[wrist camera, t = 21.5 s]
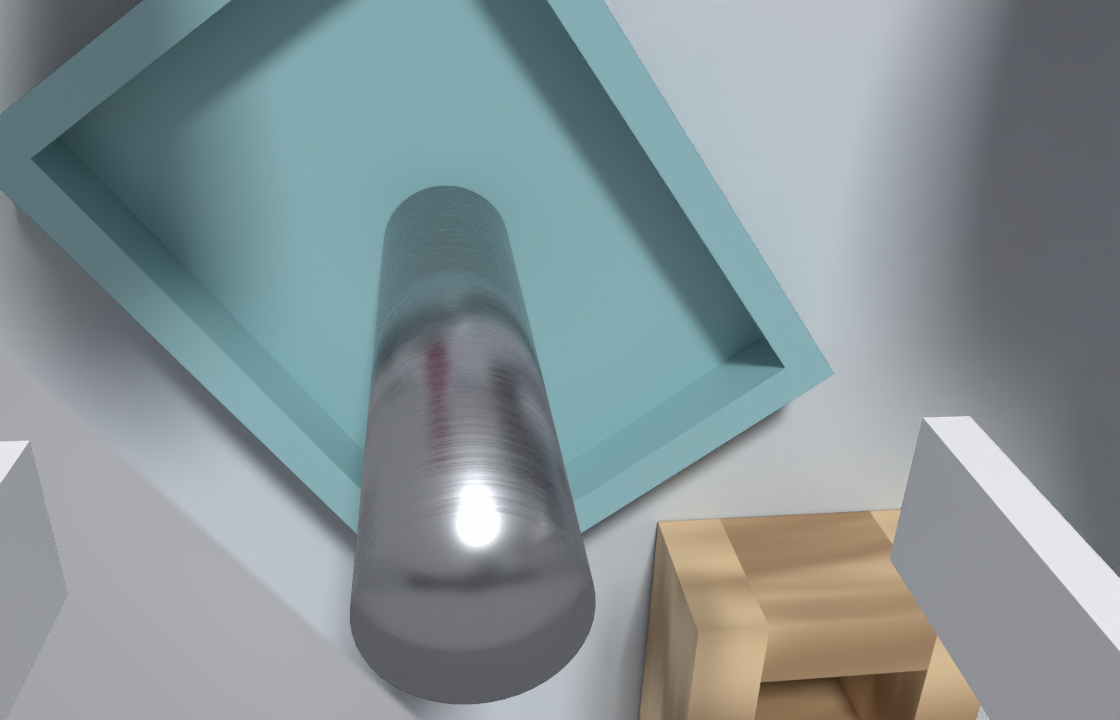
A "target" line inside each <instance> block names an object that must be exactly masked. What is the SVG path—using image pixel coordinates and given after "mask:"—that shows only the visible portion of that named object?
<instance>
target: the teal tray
mask: <svg viewBox="0 0 1120 720" xmlns="http://www.w3.org/2000/svg"><path fill="white" fill-rule="evenodd" d="M445 185H446V186H457V187H462V188H465V189H468V190H471V191H473V192H475V193H477V194H479V195H481V196H482V197H484V198H485V199H486V200H487V201H489V202H490V203H491V204H492V205H493V206H494V207H495V209H496V210H497V211H498V213H499V214H500V215H501V217H502V219H503V221H504V223H505V226H506V229H507V233H508V237H509V241H510V245H511V249H512V253H513V257H514V261H515V266H516V270H517V274H518V278H519V282H520V286H521V290H522V294H523V298H524V302H525V306H526V310H527V315H528V319H529V323H530V327H531V331H532V335H533V339H534V343H535V347H536V351H537V355H538V359H539V364H540V368H541V372H542V376H543V380H544V384H545V388H546V392H547V396H548V400H549V404H550V408H551V413H552V417H553V421H554V425H555V429H556V433H557V437H558V441H559V445H560V449H561V453H562V457H563V462H564V466H565V470H566V474H567V478H568V482H569V486H570V490H571V494H572V498H573V502H574V506H575V511H576V515H577V519H578V523H579V527H580V531H581V533H582V532H584V531H586V530H587V529H589V528H590V527H592V526H594V525H595V524H597V523H598V522H600V521H601V520H603V519H605V518H606V517H608V516H609V515H611V514H613V513H614V512H616V511H617V510H619V509H621V508H622V507H624V506H625V505H627V504H629V503H630V502H632V501H633V500H635V499H636V498H638V497H640V496H641V495H643V494H644V493H646V492H648V491H649V490H651V489H652V488H654V487H656V486H657V485H659V484H660V483H662V482H663V481H665V480H667V479H668V478H670V477H671V476H673V475H675V474H676V473H678V472H679V471H681V470H683V469H684V468H686V467H687V466H689V465H690V464H692V463H694V462H695V461H697V460H698V459H700V458H702V457H703V456H705V455H706V454H708V453H710V452H711V451H713V450H714V449H716V448H717V447H719V446H721V445H722V444H724V443H725V442H727V441H729V440H730V439H732V438H733V437H735V436H737V435H738V434H740V433H741V432H743V431H744V430H746V429H748V428H749V427H751V426H752V425H754V424H756V423H757V422H759V421H760V420H762V419H764V418H765V417H767V416H768V415H770V414H772V413H773V412H775V411H776V410H778V409H779V408H781V407H783V406H784V405H786V404H787V403H789V402H791V401H792V400H794V399H795V398H797V397H799V396H800V395H802V394H803V393H805V392H806V391H808V390H810V389H811V388H813V387H814V386H816V385H818V384H819V383H821V382H822V381H824V380H826V379H827V378H829V377H830V376H832V375H833V374H834V372H833V371H832V369H831V367H830V366H829V364H828V362H827V361H826V359H825V358H824V356H823V354H822V353H821V351H820V350H819V348H818V346H817V345H816V343H815V341H814V340H813V338H812V337H811V335H810V333H809V332H808V330H807V329H806V327H805V325H804V324H803V322H802V320H801V319H800V317H799V316H798V314H797V312H796V311H795V309H794V308H793V306H792V304H791V303H790V301H789V299H788V298H787V296H786V295H785V293H784V291H783V290H782V288H781V287H780V285H779V283H778V282H777V280H776V278H775V277H774V275H773V274H772V272H771V270H770V269H769V267H768V265H767V264H766V262H765V261H764V259H763V257H762V256H761V254H760V253H759V251H758V249H757V248H756V246H755V244H754V243H753V241H752V240H751V238H750V236H749V235H748V233H747V232H746V230H745V228H744V227H743V225H742V223H741V222H740V220H739V219H738V217H737V215H736V214H735V212H734V211H733V209H732V207H731V206H730V204H729V202H728V201H727V199H726V198H725V196H724V194H723V193H722V191H721V190H720V188H719V186H718V185H717V183H716V181H715V180H714V178H713V177H712V175H711V173H710V172H709V170H708V169H707V167H706V165H705V164H704V162H703V160H702V159H701V157H700V156H699V154H698V152H697V151H696V149H695V148H694V146H693V144H692V143H691V141H690V139H689V138H688V136H687V135H686V133H685V131H684V130H683V128H682V127H681V125H680V123H679V122H678V120H677V118H676V117H675V115H674V114H673V112H672V110H671V109H670V107H669V105H668V104H667V102H666V101H665V99H664V97H663V96H662V94H661V93H660V91H659V89H658V88H657V86H656V84H655V83H654V81H653V80H652V78H651V76H650V75H649V73H648V72H647V70H646V68H645V67H644V65H643V63H642V62H641V60H640V59H639V57H638V55H637V54H636V52H635V51H634V49H633V47H632V46H631V44H630V42H629V41H628V39H627V38H626V36H625V34H624V33H623V31H622V30H621V28H620V26H619V25H618V23H617V21H616V20H615V18H614V17H613V15H612V13H611V12H610V10H609V9H608V7H607V5H606V4H605V2H604V0H143V1H141V2H140V3H139V4H138V5H136V6H135V7H134V8H133V9H131V10H130V11H129V12H128V13H126V14H125V15H124V16H123V17H121V18H120V19H119V20H118V21H116V22H115V23H114V24H113V25H111V26H110V27H109V28H108V29H106V30H105V31H104V32H103V33H101V34H100V35H99V36H98V37H96V38H95V39H94V40H93V41H92V42H90V43H89V44H88V45H87V46H85V47H84V48H83V49H82V50H80V51H79V52H78V53H77V54H75V55H74V56H73V57H72V58H70V59H69V60H68V61H67V62H65V63H64V64H63V65H62V66H60V67H59V68H58V69H57V70H55V71H54V72H53V73H52V74H50V75H49V76H48V77H47V78H46V79H44V80H43V81H42V82H41V83H39V84H38V85H37V86H36V87H34V88H33V89H32V90H31V91H29V92H28V93H27V94H26V95H24V96H23V97H22V98H21V99H19V100H18V101H17V102H16V103H14V104H13V105H12V106H11V107H9V108H8V109H7V110H6V111H4V112H3V113H2V114H1V115H0V189H1V190H2V191H3V192H4V193H5V194H6V195H7V196H8V197H9V198H10V199H11V200H12V201H13V202H14V203H15V204H16V205H17V206H18V207H19V208H20V209H21V210H22V211H23V212H24V213H26V214H27V215H28V216H29V217H30V218H31V219H32V220H33V221H34V222H35V223H36V224H37V225H38V226H39V227H40V228H41V229H42V230H43V231H44V232H45V233H46V234H47V235H48V236H49V237H50V238H51V239H52V240H53V241H54V242H55V243H57V244H58V245H59V246H60V247H61V248H62V249H63V250H64V251H65V252H66V253H67V254H68V255H69V256H70V257H71V258H72V259H73V260H74V261H75V262H76V263H77V264H78V265H79V266H80V267H81V268H82V269H83V270H84V271H85V272H86V273H87V274H89V275H90V276H91V277H92V278H93V279H94V280H95V281H96V282H97V283H98V284H99V285H100V286H101V287H102V288H103V289H104V290H105V291H106V292H107V293H108V294H109V295H110V296H111V297H112V298H113V299H114V300H115V301H116V302H117V303H118V304H120V305H121V306H122V307H123V308H124V309H125V310H126V311H127V312H128V313H129V314H130V315H131V316H132V317H133V318H134V319H135V320H136V321H137V322H138V323H139V324H140V325H141V326H142V327H143V328H144V329H145V330H146V331H147V332H148V333H149V334H151V335H152V336H153V337H154V338H155V339H156V340H157V341H158V342H159V343H160V344H161V345H162V346H163V347H164V348H165V349H166V350H167V351H168V352H169V353H170V354H171V355H172V356H173V357H174V358H175V359H176V360H177V361H178V362H179V363H180V364H181V365H183V366H184V367H185V368H186V369H187V370H188V371H189V372H190V373H191V374H192V375H193V376H194V377H195V378H196V379H197V380H198V381H199V382H200V383H201V384H202V385H203V386H204V387H205V388H206V389H207V390H208V391H209V392H210V393H211V394H212V395H214V396H215V397H216V398H217V399H218V400H219V401H220V402H221V403H222V404H223V405H224V406H225V407H226V408H227V409H228V410H229V411H230V412H231V413H232V414H233V415H234V416H235V417H236V418H237V419H238V420H239V421H240V422H241V423H242V424H243V425H245V426H246V427H247V428H248V429H249V430H250V431H251V432H252V433H253V434H254V435H255V436H256V437H257V438H258V439H259V440H260V441H261V442H262V443H263V444H264V445H265V446H266V447H267V448H268V449H269V450H270V451H271V452H272V453H273V454H274V455H275V456H277V457H278V458H279V459H280V460H281V461H282V462H283V463H284V464H285V465H286V466H287V467H288V468H289V469H290V470H291V471H292V472H293V473H294V474H295V475H296V476H297V477H298V478H299V479H300V480H301V481H302V482H303V483H304V484H305V485H306V486H308V487H309V488H310V489H311V490H312V491H313V492H314V493H315V494H316V495H317V496H318V497H319V498H320V499H321V500H322V501H323V502H324V503H325V504H326V505H327V506H328V507H329V508H330V509H331V510H332V511H333V512H334V513H335V514H336V515H337V516H339V517H340V518H341V519H342V520H343V521H344V522H345V523H346V524H347V525H348V526H349V527H350V528H351V529H352V530H353V531H354V532H355V533H356V534H357V528H358V517H359V505H360V494H361V483H362V472H363V461H364V450H365V439H366V428H367V417H368V406H369V395H370V384H371V373H372V362H373V351H374V340H375V329H376V318H377V307H378V296H379V285H380V274H381V263H382V252H383V240H384V234H385V229H386V226H387V223H388V221H389V219H390V217H391V215H392V214H393V212H394V211H395V209H396V208H397V207H398V206H399V205H400V204H401V203H402V202H403V201H404V200H405V199H407V198H408V197H410V196H411V195H413V194H414V193H416V192H418V191H421V190H423V189H426V188H430V187H435V186H445Z"/></svg>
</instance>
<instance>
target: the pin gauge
mask: <svg viewBox="0 0 1120 720" xmlns="http://www.w3.org/2000/svg"><path fill="white" fill-rule="evenodd" d="M594 613H595V590H594V585H593V580H592V576H591V572H590V568H589V564H588V560H587V555H586V551H585V547H584V543H583V539H582V535H581V531H580V527H579V523H578V519H577V515H576V511H575V506H574V502H573V498H572V494H571V490H570V486H569V482H568V478H567V474H566V470H565V466H564V462H563V457H562V453H561V449H560V445H559V441H558V437H557V433H556V429H555V425H554V421H553V417H552V413H551V408H550V404H549V400H548V396H547V392H546V388H545V384H544V380H543V376H542V372H541V368H540V364H539V359H538V355H537V351H536V347H535V343H534V339H533V335H532V331H531V327H530V323H529V319H528V315H527V310H526V306H525V302H524V298H523V294H522V290H521V286H520V282H519V278H518V274H517V270H516V266H515V261H514V257H513V253H512V249H511V245H510V241H509V237H508V233H507V229H506V226H505V223H504V221H503V219H502V217H501V215H500V214H499V213H498V211H497V210H496V209H495V207H494V206H493V205H492V204H491V203H490V202H489V201H487V200H486V199H485V198H484V197H482V196H481V195H479V194H477V193H475V192H473V191H471V190H468V189H465V188H462V187H457V186H446V185H445V186H435V187H430V188H426V189H423V190H421V191H418V192H416V193H414V194H413V195H411V196H410V197H408V198H407V199H405V200H404V201H403V202H402V203H401V204H400V205H399V206H398V207H397V208H396V209H395V211H394V212H393V214H392V215H391V217H390V219H389V221H388V223H387V226H386V229H385V234H384V240H383V252H382V263H381V274H380V285H379V296H378V307H377V318H376V329H375V340H374V351H373V362H372V373H371V384H370V395H369V406H368V417H367V428H366V439H365V450H364V461H363V472H362V483H361V494H360V505H359V517H358V528H357V539H356V550H355V561H354V572H353V583H352V594H351V605H350V624H351V630H352V635H353V638H354V640H355V643H356V646H357V648H358V650H359V651H360V653H361V655H362V657H363V658H364V660H365V661H366V662H367V663H368V665H369V666H370V667H371V668H372V669H373V670H374V671H375V672H376V673H377V674H378V675H379V676H380V677H381V678H383V679H384V680H385V681H387V682H388V683H390V684H391V685H393V686H395V687H396V688H398V689H400V690H402V691H404V692H406V693H409V694H411V695H413V696H416V697H419V698H423V699H426V700H430V701H435V702H441V703H448V704H480V703H488V702H494V701H498V700H503V699H507V698H510V697H513V696H516V695H519V694H521V693H524V692H526V691H528V690H531V689H533V688H535V687H537V686H538V685H540V684H542V683H544V682H545V681H547V680H548V679H550V678H551V677H553V676H554V675H555V674H557V673H558V672H559V671H560V670H561V669H563V668H564V667H565V666H566V665H567V664H568V663H569V662H570V661H571V660H572V658H573V657H574V656H575V655H576V654H577V652H578V651H579V649H580V648H581V647H582V645H583V644H584V642H585V640H586V638H587V636H588V634H589V632H590V629H591V626H592V622H593V619H594Z"/></svg>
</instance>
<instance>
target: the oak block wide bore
mask: <svg viewBox="0 0 1120 720" xmlns="http://www.w3.org/2000/svg"><path fill="white" fill-rule="evenodd" d="M900 512H901V509H900V510H880V511H861V512H841V513H822V514H802V515H783V516H763V517H744V518H724V519H705V520H685V521H666V522H658V528H657V539H656V549H655V559H654V570H653V580H652V591H651V601H650V612H649V622H648V632H647V643H646V653H645V664H644V674H643V684H642V695H641V705H640V716H639V720H976V717H977V714H978V711H979V708H980V705H981V704H980V703H979V701H978V699H977V698H976V696H975V695H974V693H973V691H972V690H971V688H970V687H969V685H968V684H967V682H966V680H965V679H964V677H963V676H962V674H961V672H960V671H959V669H958V668H957V666H956V664H955V663H954V661H953V660H952V658H951V656H950V655H949V653H948V652H947V650H946V648H945V647H944V645H943V644H942V642H941V641H940V639H939V637H938V636H937V634H936V633H935V631H934V629H933V628H932V626H931V625H930V623H929V621H928V620H927V618H926V617H925V615H924V613H923V612H922V610H921V609H920V607H919V605H918V604H917V602H916V601H915V599H914V598H913V596H912V594H911V593H910V591H909V590H908V588H907V586H906V585H905V583H904V582H903V580H902V578H901V577H900V575H899V574H898V572H897V570H896V569H895V567H894V566H893V564H892V562H891V561H890V559H889V558H890V554H891V549H892V545H893V541H894V537H895V533H896V528H897V524H898V520H899V516H900Z"/></svg>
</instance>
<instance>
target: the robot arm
mask: <svg viewBox="0 0 1120 720" xmlns="http://www.w3.org/2000/svg"><path fill="white" fill-rule="evenodd" d="M889 559H890V561H891V562H892V564H893V566H894V567H895V569H896V570H897V572H898V574H899V575H900V577H901V578H902V580H903V582H904V583H905V585H906V586H907V588H908V590H909V591H910V593H911V594H912V596H913V598H914V599H915V601H916V602H917V604H918V605H919V607H920V609H921V610H922V612H923V613H924V615H925V617H926V618H927V620H928V621H929V623H930V625H931V626H932V628H933V629H934V631H935V633H936V634H937V636H938V637H939V639H940V641H941V642H942V644H943V645H944V647H945V648H946V650H947V652H948V653H949V655H950V656H951V658H952V660H953V661H954V663H955V664H956V666H957V668H958V669H959V671H960V672H961V674H962V676H963V677H964V679H965V680H966V682H967V684H968V685H969V687H970V688H971V690H972V691H973V693H974V695H975V696H976V698H977V699H978V701H979V703H980V704H981V706H982V707H983V709H984V711H985V712H986V714H987V715H988V717H989V719H990V720H1120V578H1119V577H1118V576H1117V575H1116V574H1115V573H1114V571H1113V570H1112V569H1111V568H1110V567H1109V566H1108V565H1107V564H1106V563H1105V562H1104V561H1103V560H1102V559H1101V557H1100V556H1099V555H1098V554H1097V553H1096V552H1095V551H1094V550H1093V549H1092V548H1091V547H1090V546H1089V544H1088V543H1087V542H1086V541H1085V540H1084V539H1083V538H1082V537H1081V536H1080V535H1079V534H1078V533H1077V531H1076V530H1075V529H1074V528H1073V527H1072V526H1071V525H1070V524H1069V523H1068V522H1067V521H1066V520H1065V519H1064V517H1063V516H1062V515H1061V514H1060V513H1059V512H1058V511H1057V510H1056V509H1055V508H1054V507H1053V506H1052V504H1051V503H1050V502H1049V501H1048V500H1047V499H1046V498H1045V497H1044V496H1043V495H1042V494H1041V493H1040V492H1039V490H1038V489H1037V488H1036V487H1035V486H1034V485H1033V484H1032V483H1031V482H1030V481H1029V480H1028V479H1027V477H1026V476H1025V475H1024V474H1023V473H1022V472H1021V471H1020V470H1019V469H1018V468H1017V467H1016V466H1015V465H1014V463H1013V462H1012V461H1011V460H1010V459H1009V458H1008V457H1007V456H1006V455H1005V454H1004V453H1003V452H1002V450H1001V449H1000V448H999V447H998V446H997V445H996V444H995V443H994V442H993V441H992V440H991V439H990V438H989V436H988V435H987V434H986V433H985V432H984V431H983V430H982V429H981V428H980V427H979V426H978V425H977V423H976V422H975V421H974V420H973V419H972V418H971V417H970V416H960V417H923V419H922V423H921V428H920V432H919V436H918V440H917V444H916V449H915V453H914V457H913V461H912V465H911V470H910V474H909V478H908V482H907V486H906V491H905V495H904V499H903V503H902V507H901V512H900V516H899V520H898V524H897V528H896V533H895V537H894V541H893V545H892V549H891V554H890V558H889ZM67 596H68V591H67V587H66V583H65V579H64V575H63V571H62V567H61V563H60V560H59V555H58V551H57V547H56V543H55V539H54V535H53V531H52V527H51V524H50V519H49V515H48V512H47V508H46V504H45V500H44V496H43V492H42V488H41V484H40V480H39V476H38V472H37V468H36V464H35V460H34V456H33V452H32V448H31V444H30V441H8V442H0V720H6V718H7V716H8V714H9V712H10V710H11V708H12V706H13V704H14V702H15V700H16V698H17V696H18V694H19V692H20V690H21V688H22V686H23V684H24V682H25V680H26V678H27V676H28V674H29V672H30V669H31V668H32V666H33V663H34V662H35V660H36V658H37V656H38V654H39V652H40V650H41V648H42V646H43V644H44V642H45V640H46V638H47V636H48V634H49V632H50V629H51V628H52V626H53V624H54V622H55V619H56V617H57V616H58V613H59V612H60V610H61V607H62V606H63V604H64V601H65V600H66V598H67Z"/></svg>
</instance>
